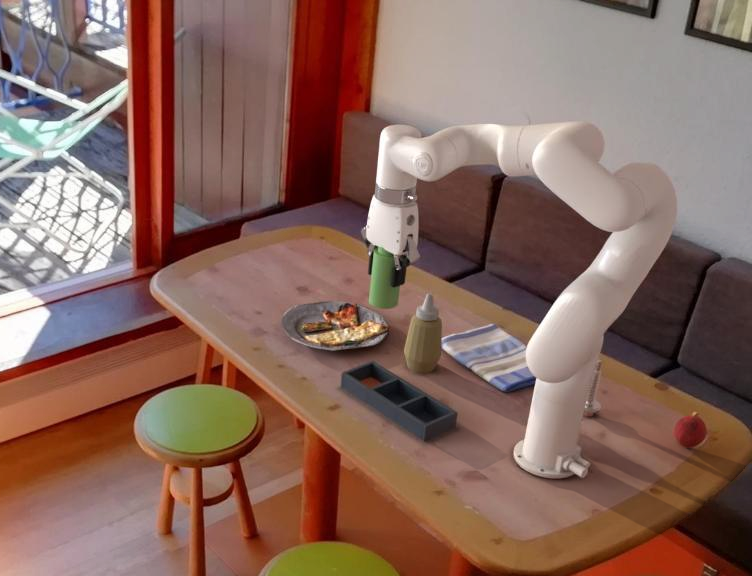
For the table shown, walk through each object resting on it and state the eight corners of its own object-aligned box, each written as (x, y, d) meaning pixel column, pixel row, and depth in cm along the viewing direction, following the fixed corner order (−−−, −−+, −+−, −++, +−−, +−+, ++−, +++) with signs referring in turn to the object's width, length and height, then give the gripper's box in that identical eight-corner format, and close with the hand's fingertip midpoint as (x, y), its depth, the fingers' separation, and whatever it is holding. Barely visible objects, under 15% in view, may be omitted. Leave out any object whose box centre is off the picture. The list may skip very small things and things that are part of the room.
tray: (455, 429, 211) (457, 412, 209) (423, 443, 206) (426, 426, 204) (371, 376, 228) (372, 360, 226) (340, 388, 223) (341, 372, 221)
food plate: (363, 303, 257) (364, 290, 256) (405, 348, 239) (407, 334, 237) (267, 316, 250) (267, 303, 249) (302, 364, 232) (303, 350, 230)
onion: (697, 459, 204) (708, 424, 199) (667, 449, 206) (676, 415, 202) (704, 444, 208) (714, 410, 204) (673, 435, 210) (683, 401, 206)
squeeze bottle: (438, 379, 228) (448, 304, 218) (400, 374, 229) (409, 300, 219) (439, 360, 234) (449, 287, 225) (403, 356, 236) (411, 283, 226)
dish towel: (493, 330, 247) (495, 320, 245) (564, 377, 229) (566, 366, 228) (434, 346, 240) (435, 335, 238) (502, 396, 222) (504, 384, 221)
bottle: (404, 304, 210) (413, 223, 201) (382, 311, 207) (391, 230, 198) (384, 293, 214) (392, 213, 205) (362, 300, 211) (370, 220, 202)
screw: (588, 422, 214) (569, 411, 217) (604, 415, 216) (585, 404, 220) (601, 367, 207) (581, 357, 210) (617, 360, 210) (597, 350, 213)
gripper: (442, 202, 194) (431, 290, 204) (378, 175, 206) (370, 259, 215) (413, 211, 190) (402, 300, 200) (349, 182, 202) (342, 268, 212)
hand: (386, 278), depth 208 cm, fingers closed on bottle, 5 cm apart
